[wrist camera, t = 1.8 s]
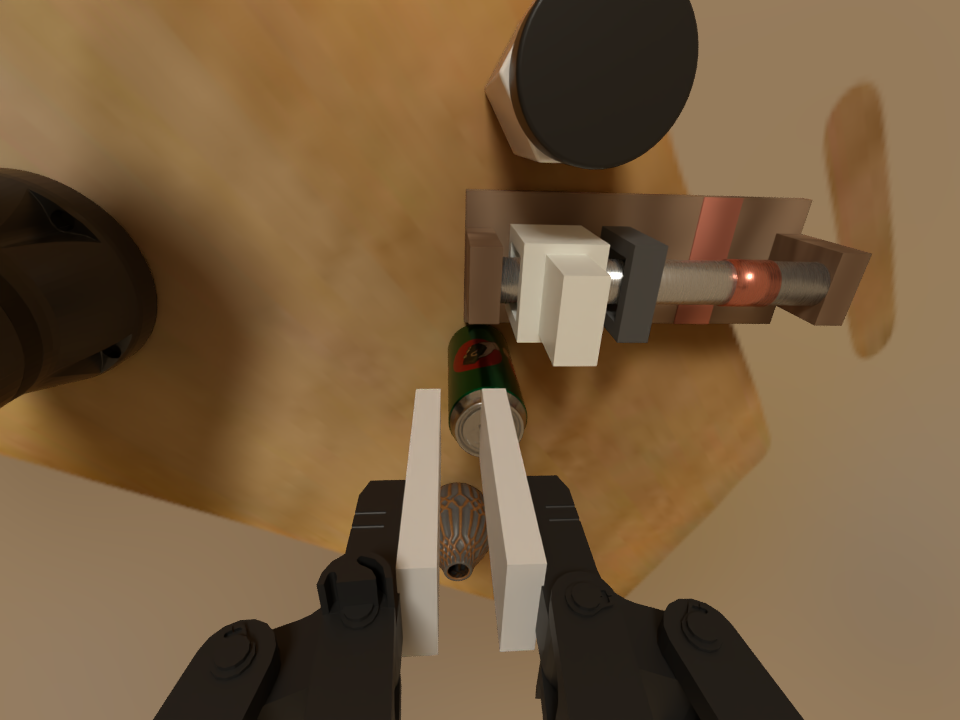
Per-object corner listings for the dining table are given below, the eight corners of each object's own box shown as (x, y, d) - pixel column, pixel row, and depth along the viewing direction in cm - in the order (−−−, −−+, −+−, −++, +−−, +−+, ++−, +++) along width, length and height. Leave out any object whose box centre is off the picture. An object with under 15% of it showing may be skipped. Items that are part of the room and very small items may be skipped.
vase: (459, 531, 48) (462, 608, 40) (408, 502, 46) (400, 578, 38) (503, 492, 46) (515, 566, 38) (451, 460, 44) (453, 531, 36)
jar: (560, 186, 33) (616, 211, 22) (465, 120, 31) (475, 113, 20) (639, 63, 30) (747, 23, 19) (539, -21, 27) (599, -120, 17)
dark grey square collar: (589, 309, 34) (617, 342, 29) (602, 225, 31) (635, 245, 26) (614, 309, 34) (647, 342, 29) (629, 226, 32) (668, 246, 26)
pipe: (480, 295, 32) (484, 311, 29) (482, 250, 30) (486, 262, 27) (801, 298, 33) (834, 313, 31) (816, 255, 32) (853, 267, 29)
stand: (463, 317, 37) (467, 358, 30) (465, 189, 32) (471, 203, 26) (762, 319, 39) (827, 357, 32) (803, 198, 34) (889, 213, 28)
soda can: (435, 351, 38) (431, 436, 28) (474, 309, 37) (486, 380, 26) (479, 384, 40) (492, 475, 29) (518, 344, 38) (547, 425, 28)
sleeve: (505, 308, 34) (528, 376, 24) (510, 223, 31) (538, 263, 22) (570, 309, 34) (618, 375, 25) (581, 225, 31) (639, 264, 22)
